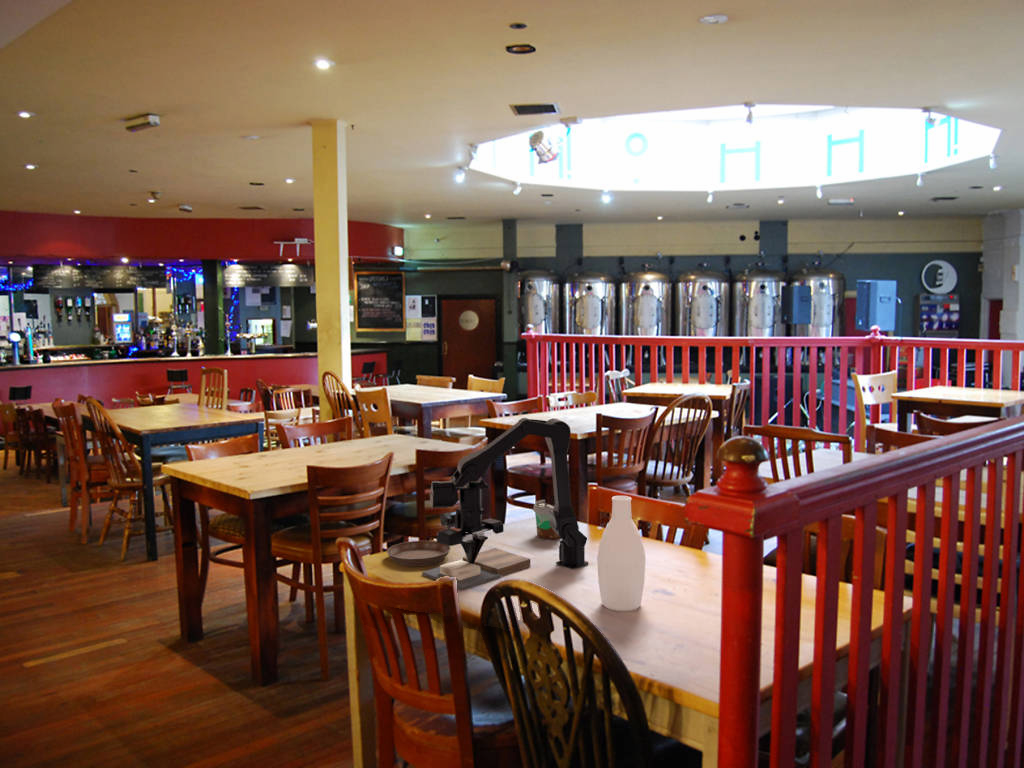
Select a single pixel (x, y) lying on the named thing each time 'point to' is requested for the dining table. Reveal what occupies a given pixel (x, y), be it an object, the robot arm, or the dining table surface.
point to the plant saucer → (418, 553)
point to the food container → (544, 521)
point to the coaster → (460, 569)
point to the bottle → (621, 560)
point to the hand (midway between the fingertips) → (471, 563)
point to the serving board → (500, 561)
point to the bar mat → (467, 582)
